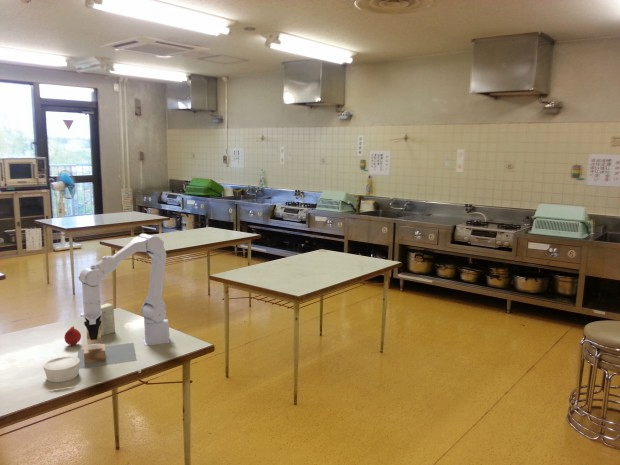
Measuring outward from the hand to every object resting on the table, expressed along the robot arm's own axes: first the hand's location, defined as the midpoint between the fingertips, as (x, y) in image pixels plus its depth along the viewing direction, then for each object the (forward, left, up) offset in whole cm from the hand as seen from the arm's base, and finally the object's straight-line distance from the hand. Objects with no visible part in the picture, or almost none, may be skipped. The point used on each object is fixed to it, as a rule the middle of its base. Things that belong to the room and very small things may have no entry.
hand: (93, 337), depth 178 cm
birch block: (0, 0, -2) cm, 2 cm away
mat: (-4, -2, -9) cm, 10 cm away
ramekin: (+10, +11, -9) cm, 17 cm away
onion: (+8, -17, -9) cm, 21 cm away
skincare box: (-4, -27, -9) cm, 29 cm away
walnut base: (0, 0, -8) cm, 8 cm away
